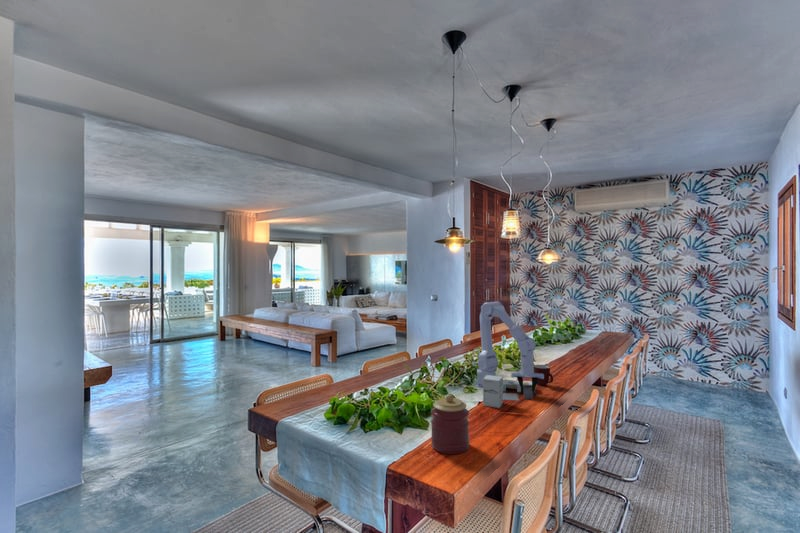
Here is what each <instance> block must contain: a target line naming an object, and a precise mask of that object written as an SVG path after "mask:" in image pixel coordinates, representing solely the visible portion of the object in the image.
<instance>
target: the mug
mask: <svg viewBox="0 0 800 533" xmlns="http://www.w3.org/2000/svg"><path fill="white" fill-rule="evenodd" d="M534 373H539V374H544V379H541V378H538V383H537V385H536V386H538V387H546V386H547V385H548V384H552V383H553V381H554V376H553V374H552V373H551V367H550V366H549V365H546V364H534Z"/></svg>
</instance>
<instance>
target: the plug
mask: <svg viewBox="0 0 800 533" xmlns="http://www.w3.org/2000/svg"><path fill="white" fill-rule="evenodd" d="M522 396H523V399H525V400H534V394H533V392H532V389H531V388H523V394H522Z"/></svg>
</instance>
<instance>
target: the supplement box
mask: <svg viewBox="0 0 800 533" xmlns="http://www.w3.org/2000/svg"><path fill="white" fill-rule="evenodd" d="M503 380H504V377H503V376H498V375H495V376H492V375H486V376H485V377H484V378H483V387H482V395H483V396H482V405H483V406H485V407H491V408H497V409H500V408H501V407H502V405H503V402H504V400H503V393H504V391H503Z"/></svg>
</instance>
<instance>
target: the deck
mask: <svg viewBox="0 0 800 533" xmlns="http://www.w3.org/2000/svg"><path fill="white" fill-rule="evenodd" d="M503 401H517V402H519V401H520V399H519V395H518V393H512V392H503Z"/></svg>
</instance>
